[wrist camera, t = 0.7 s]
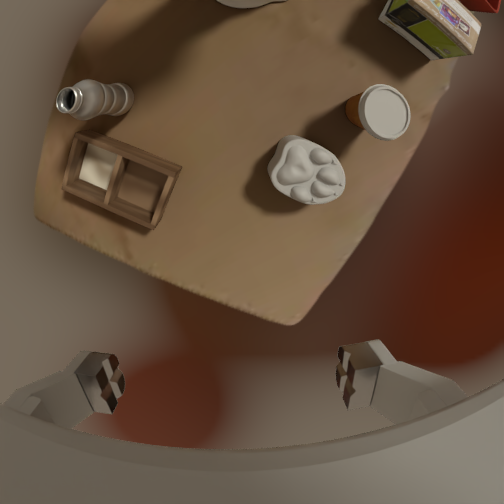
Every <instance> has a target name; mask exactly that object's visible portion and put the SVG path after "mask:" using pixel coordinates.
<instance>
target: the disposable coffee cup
mask: <svg viewBox="0 0 504 504" xmlns="http://www.w3.org/2000/svg"><path fill="white" fill-rule="evenodd" d="M345 111H346V115H347V117H348V119H349V120H350V121H351V122H352V123H353V124H355V125H357V126H359V127H360V128H362V129H364V130H366V131H367V132H368V133H369V134H370V135H372V136H373V137H375V138H377V139H380V140H385V141H387V140H393V139H396V138H398V137H399V136H400V135H402V134H403V133H404V132H405V131H406V129H407V128H408V125H409V123H410V108H409V105H408V103H407V101H406V99H405V98H404V96H403V95H402V94H401V93H400V92H398V91H397V90H396V89H395V88H393V87H391V86H388V85H384V84H377V85H373V86H371V87H369V88H368V89H367V90H366V91H365V92H362V93H360V94H358V95H356V96H353V97H351V98H350V99H349V100H348V101H347V103H346V107H345Z"/></svg>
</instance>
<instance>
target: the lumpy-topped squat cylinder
mask: <svg viewBox="0 0 504 504" xmlns="http://www.w3.org/2000/svg"><path fill="white" fill-rule="evenodd" d="M267 170H268V174H269V176H270V179H271V181H272V183H273V185H274V187H275V188H276V189H277V190H278V191H280V192H281V193H283V194H285V195H287V196H288V197H290V198H292V199H294V200H297V201H299V202H302V203H305V204H324V203H328V202H330V201H332V200H334V199H336V198H338V197H339V196H340V195H341V194H342V192H343V190H344V188H345V174H344V170H343V168H342V166H341V164H340V162H339V161H338V159H337V158H336V156H335V155H334V154H333V153H331V152H330V151H328V150H327V149H325V148H323V147H322V146H320V145H318V144H316V143H313V142H311V141H309V140H307V139H304V138H302V137H299V136H295V135H289V136H285V137H283V138H282V139H281V140H280V141H279V143H278V146H277V149H276V152H275V154H274V156H273V157H272V159H271V160H270V162H269V164H268V167H267Z"/></svg>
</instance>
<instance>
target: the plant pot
mask: <svg viewBox="0 0 504 504" xmlns="http://www.w3.org/2000/svg"><path fill="white" fill-rule="evenodd" d="M458 1H459V2H460V3H461V4H462V5H463V6H464V7H465V8H467V9H468V10H470V11H479V12H487V13H488V12H489V13H498V11H499V7H500V3H501V0H458Z"/></svg>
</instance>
